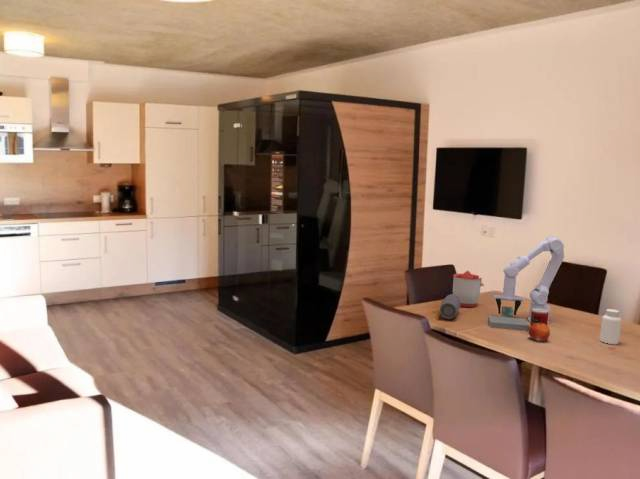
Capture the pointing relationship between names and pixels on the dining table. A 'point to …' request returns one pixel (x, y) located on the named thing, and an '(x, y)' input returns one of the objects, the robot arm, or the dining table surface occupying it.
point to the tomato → (539, 331)
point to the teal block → (507, 312)
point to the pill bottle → (610, 327)
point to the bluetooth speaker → (450, 306)
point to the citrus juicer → (467, 288)
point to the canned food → (539, 316)
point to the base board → (508, 323)
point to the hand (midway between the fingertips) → (507, 314)
